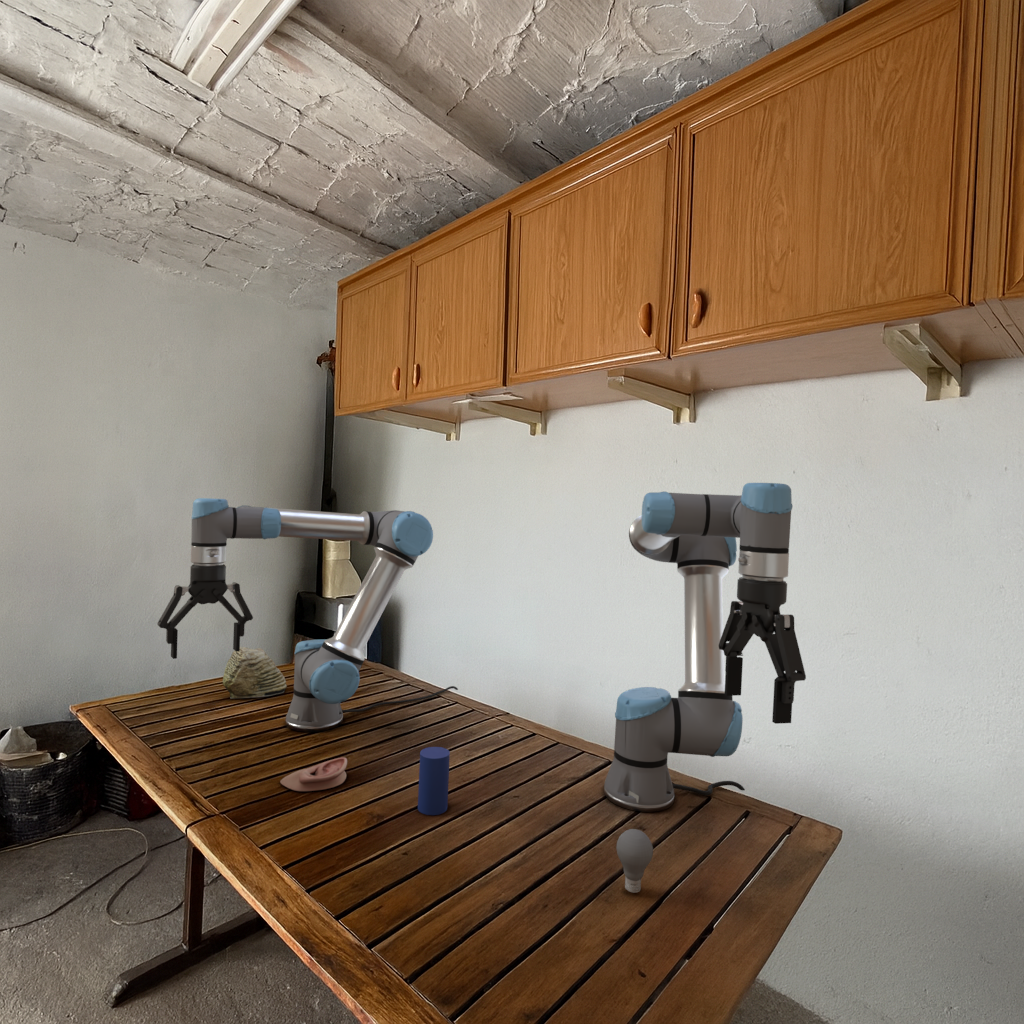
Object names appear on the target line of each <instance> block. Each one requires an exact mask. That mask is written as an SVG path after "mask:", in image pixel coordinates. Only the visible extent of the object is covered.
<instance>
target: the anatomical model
mask: <svg viewBox="0 0 1024 1024" xmlns="http://www.w3.org/2000/svg"><path fill="white" fill-rule="evenodd" d="M347 766H348V758H347V757H343V756H342V757H338V758H334V759H330V760H327V761H326V760H325V761H324V762H320V763H318V764H316V765H313V766H310V767H307V768H303V769H299V770H296V771H294V772H292V773H290V774H288V775H286V776H284V777H282V779H280V782H279V783H280V785H282V786H283V787H285V788H286V789H289V790H292V791H295V792H312V791H313V792H314V791H322V790H327V789H331V788H335V787H338V786H341V785H342V784H343V783H344V782H345V781H346V779H347V773H346V771H345V770H346V769H347Z"/></svg>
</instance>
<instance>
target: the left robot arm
mask: <svg viewBox="0 0 1024 1024" xmlns="http://www.w3.org/2000/svg"><path fill="white" fill-rule="evenodd" d="M279 537H281V538H294V539H295V538H296V539H297V538H299V539H315V540H319V539H320V540H333V541H351V542H358V543H359V544H360V545H361V546H362V545H363V546H372V547H373V546H374V547H373V550H374V552H375V557H374V559H373V561H372V563H371V564H370V567H369V569H368V570H367V572H366V575H365V576H364V578H363V580H362V582H361V584H360V585H359V588H358V590H357V591H356V593H355V595H354V596H353V598H352V600H351V602H350V604H349V606H348V608H347V610H346V612H345V614H344V616H343V617H342V620H341V621H340V623H339V624H338V627H337V629H336V631H335V632H334V635H333V636H332V637H329V638H327V639H325V638H324V639H307V640H302V641H299V642H297V644H295V650H294V672H293V673H294V674H293V695H292V696H293V697H292V699H291V702H290V704H289V708H288V711H287V713H286V715H285V726H286V728H287V729H289V730H291V731H294V732H295V731H296V732H301V733H316V732H325V731H329V730H332V729H335V728H337V727H339V726H340V725H342V723H343V722H344V714H343V713H358V712H359V713H360V712H364V711H367V710H370V709H373V708H375V707H379V706H385V705H392V704H405V703H411V702H417V701H421V700H425V699H429V698H432V697H434V696H437V695H440V694H442V693H444V692H447V691H448V690H450V689H454V690H455V691H458V690H459V688H458V687H457V686H455V685H450V686H448V687H446V688H444V689H441V690H438V691H436V692H434V693H431V694H428V695H424V696H421V697H415V698H409V699H403V700H393V701H383V702H378V703H374V704H371V705H369V706H368V705H367V706H366V707H363V708H358V709H357V708H355V709H342V706H341V703H343V702H346V701H348V700H349V699H350V698H351V697H353V696H354V694H355V693H356V692H357V690H358V688H359V685H360V681H361V680H360V679H361V677H360V670H361V668H362V666H363V664H364V662H365V660H366V658H365V655H364V650H365V648H366V646H367V643H368V641H370V638H371V635H372V634H373V632H374V630H375V628H376V626H377V625H378V622H379V620H380V619H381V616H382V614H383V612H384V611H385V609H386V607H387V605H388V603H389V601H390V599H391V597H392V596H393V594H394V592H395V590H396V587H397V586H398V584H399V582H400V580H401V578H402V576H403V574H404V572H405V571H406V570H408V569H411V568H414V565H415V564H416V561H417V560H418V558H419V556H421V555H423V554H425V553H426V552H427V551H428V550H429V549H430V547H431V545H432V543H433V541H434V540H433V539H434V530H433V527H432V524H431V522H430V521H429V520H428V518H427V517H425V516H424V515H423V514H421V513H418V512H415V511H411V510H407V511H406V510H395V509H393V510H383V511H382V510H381V511H365V510H363V511H362V512H361V513H345V512H333V511H320V510H319V511H318V510H305V509H293V508H292V509H290V508H278V507H263V506H250V505H241V506H240V505H239V506H237V507H234V506H233V507H232V506H229V502H228V500H227V499H226V498H208V497H198V498H196V499H194V501H193V502H192V513H191V537H190V538H191V542H190V543H191V544H190V545H191V546H190V548H191V549H190V563H192V564H191V566H190V574H189V575H190V576H189V585H188V586H184V585H183V586H181V585H179V584H178V585H177V584H176V585H175V586H174V589H173V595H172V597H171V598H170V600H169V602H168V604H167V605H166V607H165V609H164V611H163V612H162V613H161V616H160V618H159V619H158V621H157V626H158V627H159V628H160V629H165V630H166V631H165V632H166V633H165V634H166V635H165V641H166V643H167V644H168V645H170V657H171V659H175V660H177V659H178V635H179V633H178V631H179V630H178V628H176V627H177V626H178V625H179V624H180V622H182V620H183V619H185V617H186V615H188V614H189V612H190V611H191V610H192V609H193V608H194V607H196V606H197V604H200V605H206V604H211V605H212V604H216V603H218V602H219V603H220V604H221V606H223V607H224V608H225V610H227V612H228V613H229V614H230V615H231V616H232V617H233V618H234V619H235V620H236V622H233V640H232V641H233V642H232V649H233V651H236V652H237V651H240V647H241V643H240V642H241V637H244V636H245V625H246V624H247V622H249V621H252V620H253V619H254V616H253V614H252V612H251V610H250V609H249V607H248V604H247V602H246V600H245V598H244V597H243V595H242V592H241V585H240V584H239V583H238V582H236V581H234V582H232V583H227V581H226V577H227V576H226V575H227V566H226V564H225V563H226V562H227V544H228V543H227V541H228V539H230V540H231V539H232V540H234V539H242V540H243V539H246V540H247V539H248V540H249V539H250V540H251V539H252V540H253V539H257V540H261V539H262V540H267V539H278V538H279ZM228 590H229V592H230V593H232V595H233V597H234V599H235V601H236V603H237V604H238V606H239V609H240V611H241V612H242V614H243V615H241V614H240V613H239V612H238V610H236V609H235V607H234V606H233V605H232V604H231V603H230V602H229V601H228V600H227V598H226V597H225V596H224V595H225V594H226V592H227V591H228ZM187 592H188V593H189V595H190V597H189V598H188V599H187V601H186V602H185V603H184V605H183V606H182V607H181V608H180V609H179V610H178V611H177V612H176V613H175V615H173V613H174V612H175V609H176V608H177V606H178V604H179V603H180V601H181V599H182V597H183V596H185V595H186V593H187ZM172 615H173V617H172ZM171 617H172V618H171Z"/></svg>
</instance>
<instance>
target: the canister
mask: <svg viewBox="0 0 1024 1024" xmlns="http://www.w3.org/2000/svg"><path fill="white" fill-rule="evenodd" d="M450 758H451V751H450V750H449V749H447V748H445V747H441V746H428V747H425V748H423V749H421V750H420V752H419V766H418V767H419V769H418V792H417V810H418V812H419V813H420V814H422V815H426V816H438V815H442V814H445V812H447V810H448V804H449V803H448V802H449V781H450Z"/></svg>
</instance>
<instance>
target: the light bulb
mask: <svg viewBox="0 0 1024 1024" xmlns="http://www.w3.org/2000/svg"><path fill="white" fill-rule="evenodd" d="M615 849H616V854H617V857H618V859H619V861H620V863H621V865H622V867H623V873H624V874H623V875H624V876H625V878H624V888H625V890H627V891H628V892H630V893H634V894H635V893H639V892H640V891H641V889H642V887H641V886H642V879H643V877H644V875H645V871H646V868H647V867H648V866H649V864H650V863H651V861H652V859H653V855H654V847H653V843H652V841H651V838H649V836H648V835H647V834H646V833H645V832H643V831H642V830H641V829H636V828H629V829H627V830H625V831H623V832H622V833H621V834H620V835H619V837H618V839H617V841H616V847H615Z"/></svg>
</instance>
